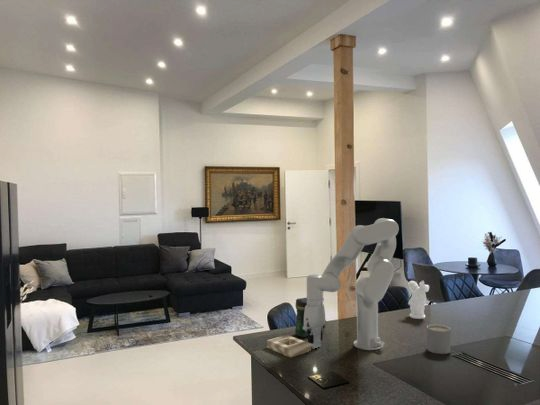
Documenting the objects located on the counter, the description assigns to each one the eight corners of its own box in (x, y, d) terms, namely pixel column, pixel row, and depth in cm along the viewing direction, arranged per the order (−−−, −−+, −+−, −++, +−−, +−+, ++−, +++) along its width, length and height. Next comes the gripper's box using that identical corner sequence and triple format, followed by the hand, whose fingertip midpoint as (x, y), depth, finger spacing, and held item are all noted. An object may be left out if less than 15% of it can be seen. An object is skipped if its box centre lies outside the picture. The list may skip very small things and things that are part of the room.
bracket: (321, 347, 196) (320, 325, 196) (313, 349, 193) (313, 327, 192) (312, 343, 200) (312, 322, 200) (304, 346, 197) (304, 324, 197)
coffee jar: (301, 338, 207) (301, 300, 207) (293, 334, 215) (292, 297, 214) (317, 335, 212) (317, 298, 212) (309, 331, 219) (309, 295, 219)
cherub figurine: (405, 315, 248) (404, 277, 248) (423, 313, 252) (422, 276, 252) (418, 320, 236) (417, 281, 236) (437, 318, 240) (436, 279, 240)
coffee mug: (440, 355, 184) (440, 332, 184) (422, 348, 193) (421, 326, 193) (460, 349, 191) (460, 327, 191) (441, 343, 199) (441, 322, 199)
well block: (310, 351, 190) (310, 343, 190) (290, 357, 183) (290, 349, 183) (287, 341, 203) (286, 334, 203) (267, 347, 195) (267, 340, 195)
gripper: (322, 297, 203) (322, 335, 203) (295, 303, 192) (296, 343, 193) (333, 300, 197) (334, 339, 197) (307, 306, 187) (307, 347, 187)
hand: (315, 341), depth 195 cm, fingers closed on bracket, 5 cm apart
